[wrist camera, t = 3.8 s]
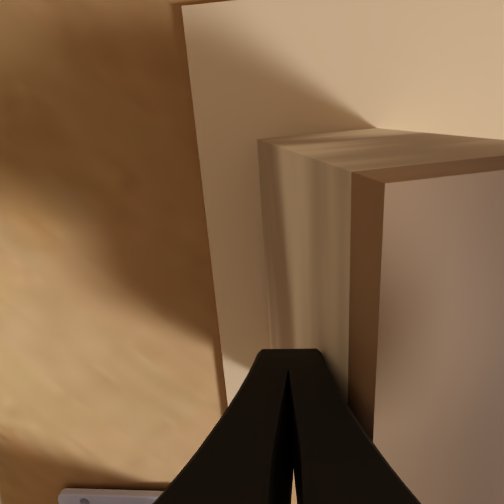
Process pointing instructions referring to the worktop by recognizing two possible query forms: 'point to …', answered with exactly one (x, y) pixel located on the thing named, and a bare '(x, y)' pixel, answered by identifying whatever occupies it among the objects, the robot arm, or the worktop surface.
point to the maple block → (397, 292)
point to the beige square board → (320, 109)
